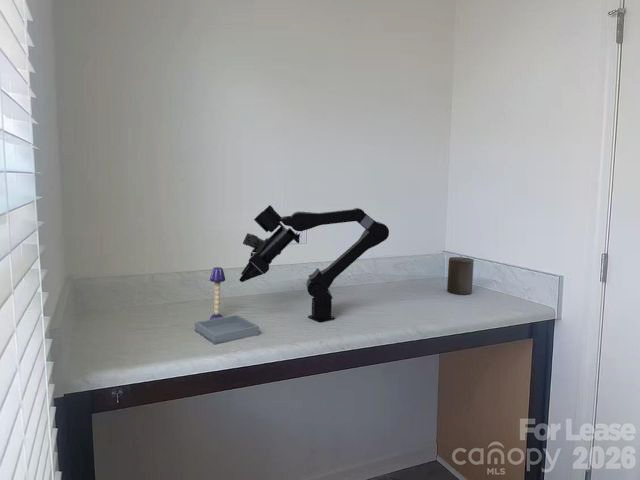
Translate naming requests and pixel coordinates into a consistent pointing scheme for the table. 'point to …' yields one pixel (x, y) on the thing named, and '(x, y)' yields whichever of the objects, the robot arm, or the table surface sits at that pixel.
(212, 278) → the toy lamp
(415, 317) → the table surface
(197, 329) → the desk tray
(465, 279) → the pillar candle
